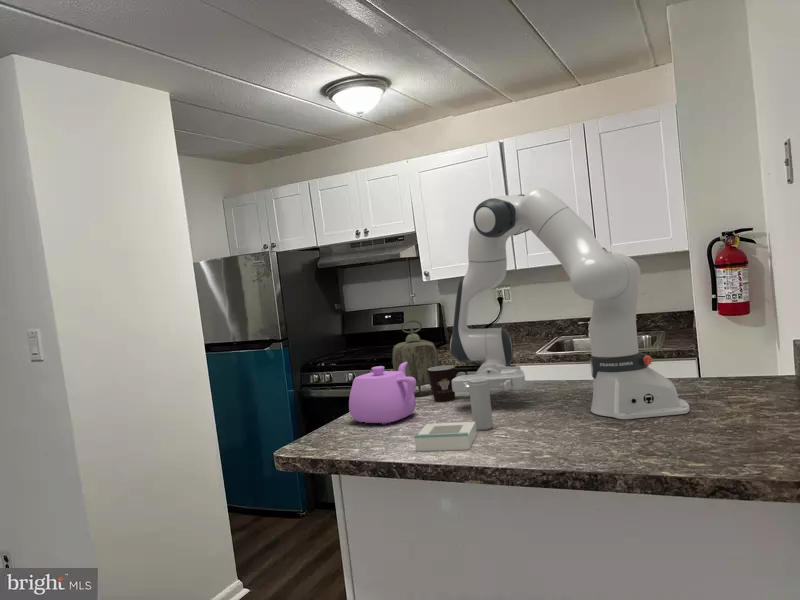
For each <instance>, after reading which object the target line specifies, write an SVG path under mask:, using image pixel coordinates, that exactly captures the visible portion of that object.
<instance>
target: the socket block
mask: <svg viewBox="0 0 800 600" xmlns="http://www.w3.org/2000/svg"><path fill="white" fill-rule="evenodd" d="M477 434H478V433H477V430H476V423H475V422H473V421H462V422H440V423H426V424H425V425H424V426H423V427H422V428H421V430H420V431H419V432H418V434H415V435H414V443H415V451H416V452H437V451H438V452H439V451H442V452H443V451H469V450H470V449H471V447H472V445H473V442H474V441H475V438H476V436H477ZM468 449H469V450H468Z"/></svg>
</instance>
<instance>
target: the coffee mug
mask: <svg viewBox="0 0 800 600" xmlns="http://www.w3.org/2000/svg"><path fill="white" fill-rule="evenodd" d="M460 372H463V373H465V375H469V374H468V372H467V371H466V370H465V369H462V368H461V369H460V368H459V369H458V370H456V366H455V365H439V366H437V367H432V368H429V369H428V374H429V378H430V383H431V386H430V388H431V387H432V390H431V391H432V394H433V395H432V396H433V399H434V402H436V403H446V402H447V401H448V402H451V401H455V399H456V392H453V390H452V380H453V379H454V378H455V377H457V375H458V373H460Z"/></svg>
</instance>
